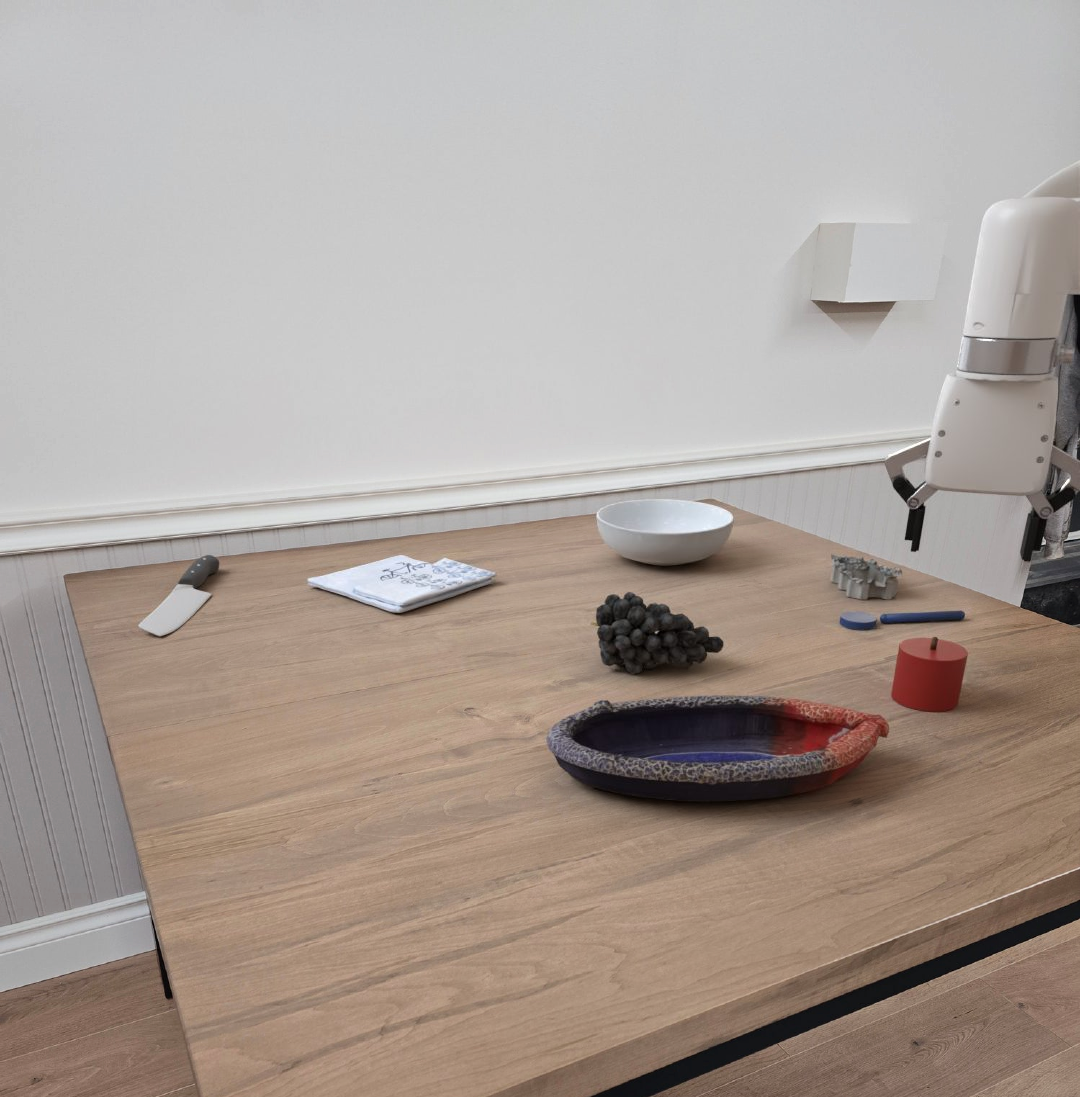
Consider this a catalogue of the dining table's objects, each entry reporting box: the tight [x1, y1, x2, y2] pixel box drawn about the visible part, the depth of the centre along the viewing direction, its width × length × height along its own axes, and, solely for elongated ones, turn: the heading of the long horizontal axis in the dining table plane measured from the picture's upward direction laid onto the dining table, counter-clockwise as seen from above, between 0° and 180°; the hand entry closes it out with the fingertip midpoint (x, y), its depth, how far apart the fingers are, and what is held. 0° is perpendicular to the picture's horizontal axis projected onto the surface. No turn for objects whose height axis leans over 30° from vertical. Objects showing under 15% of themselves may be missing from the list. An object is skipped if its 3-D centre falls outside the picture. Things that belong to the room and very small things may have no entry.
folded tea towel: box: [307, 554, 498, 614], centre depth 138 cm, size 19×20×2 cm
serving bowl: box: [596, 498, 735, 567], centre depth 149 cm, size 21×21×7 cm
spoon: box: [839, 609, 966, 631], centre depth 122 cm, size 16×4×1 cm, turn 96°
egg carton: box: [830, 553, 903, 601], centre depth 135 cm, size 11×8×4 cm
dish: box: [546, 694, 890, 802], centre depth 86 cm, size 16×31×5 cm, turn 92°
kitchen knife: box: [137, 554, 220, 637], centre depth 132 cm, size 29×3×5 cm
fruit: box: [590, 591, 725, 675], centre depth 108 cm, size 9×8×15 cm
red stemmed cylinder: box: [890, 636, 969, 713], centre depth 100 cm, size 7×7×7 cm
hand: (968, 552), depth 91 cm, fingers open, 9 cm apart
